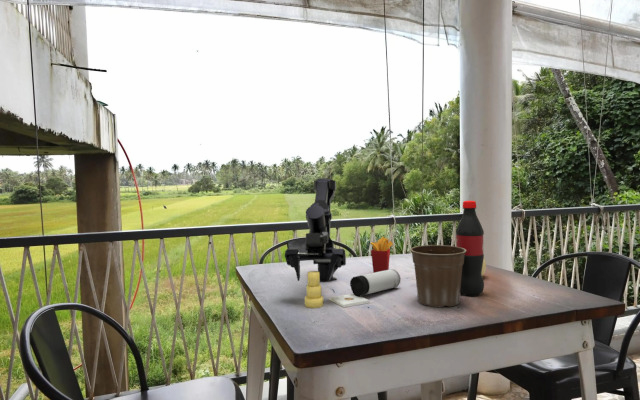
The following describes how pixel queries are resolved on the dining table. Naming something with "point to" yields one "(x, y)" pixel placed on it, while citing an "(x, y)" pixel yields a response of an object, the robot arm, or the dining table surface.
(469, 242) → the cola bottle
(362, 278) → the travel mug
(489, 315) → the dining table surface
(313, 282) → the yellow domed knob
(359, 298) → the tile
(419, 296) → the plant pot
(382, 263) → the french fries
